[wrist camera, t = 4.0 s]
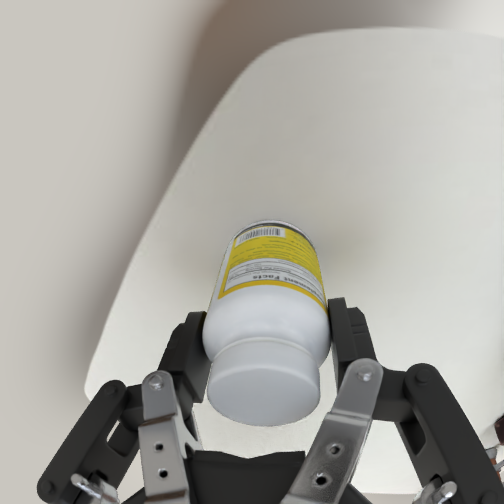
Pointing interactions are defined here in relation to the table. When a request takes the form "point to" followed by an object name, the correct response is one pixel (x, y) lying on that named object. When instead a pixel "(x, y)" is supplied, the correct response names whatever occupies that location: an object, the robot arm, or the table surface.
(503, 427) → the diary
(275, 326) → the supplement bottle
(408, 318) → the table surface
